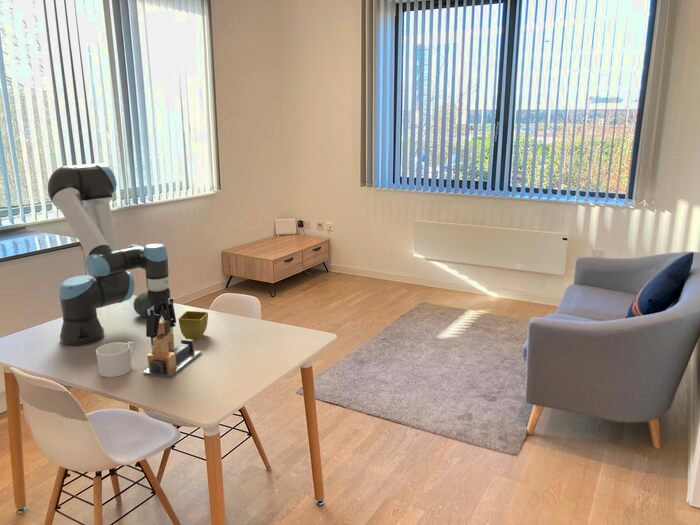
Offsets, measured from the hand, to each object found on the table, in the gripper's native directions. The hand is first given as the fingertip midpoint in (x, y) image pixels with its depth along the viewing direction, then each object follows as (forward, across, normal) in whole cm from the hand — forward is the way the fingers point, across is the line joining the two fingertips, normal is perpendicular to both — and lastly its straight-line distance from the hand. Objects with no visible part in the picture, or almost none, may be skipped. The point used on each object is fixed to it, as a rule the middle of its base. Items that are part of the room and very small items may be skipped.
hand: (163, 348), depth 204 cm
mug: (+2, -17, +6) cm, 18 cm away
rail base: (+1, -8, -9) cm, 12 cm away
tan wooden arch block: (+1, 0, 0) cm, 1 cm away
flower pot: (+2, +15, -4) cm, 16 cm away
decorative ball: (+2, +30, +27) cm, 40 cm away
